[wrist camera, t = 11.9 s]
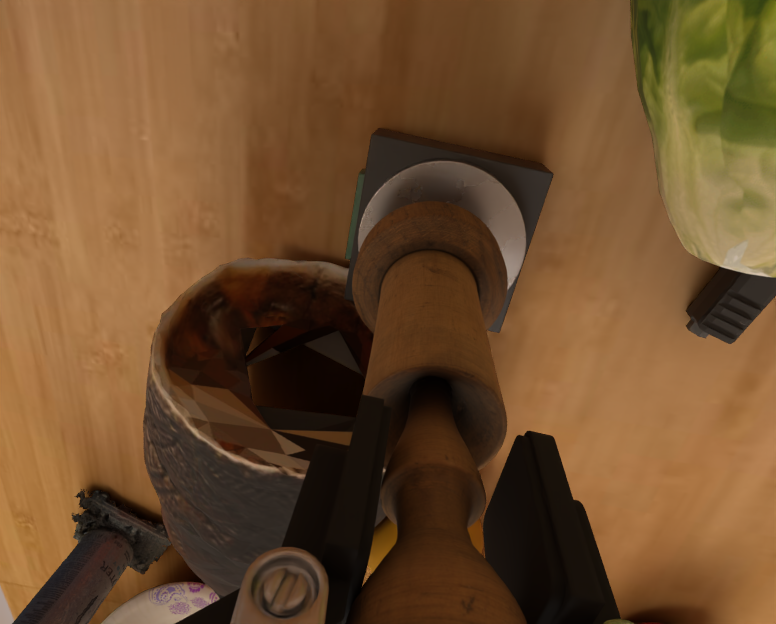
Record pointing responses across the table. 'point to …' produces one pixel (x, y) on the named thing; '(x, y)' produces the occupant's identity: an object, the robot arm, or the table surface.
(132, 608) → the paper bowls
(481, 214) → the scale
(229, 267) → the clay pot
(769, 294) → the handgun
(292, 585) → the robot arm
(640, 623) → the apple
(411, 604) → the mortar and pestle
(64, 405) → the table surface
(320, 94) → the table surface
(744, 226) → the lettuce
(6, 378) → the table surface
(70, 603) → the dark pedestal with base
